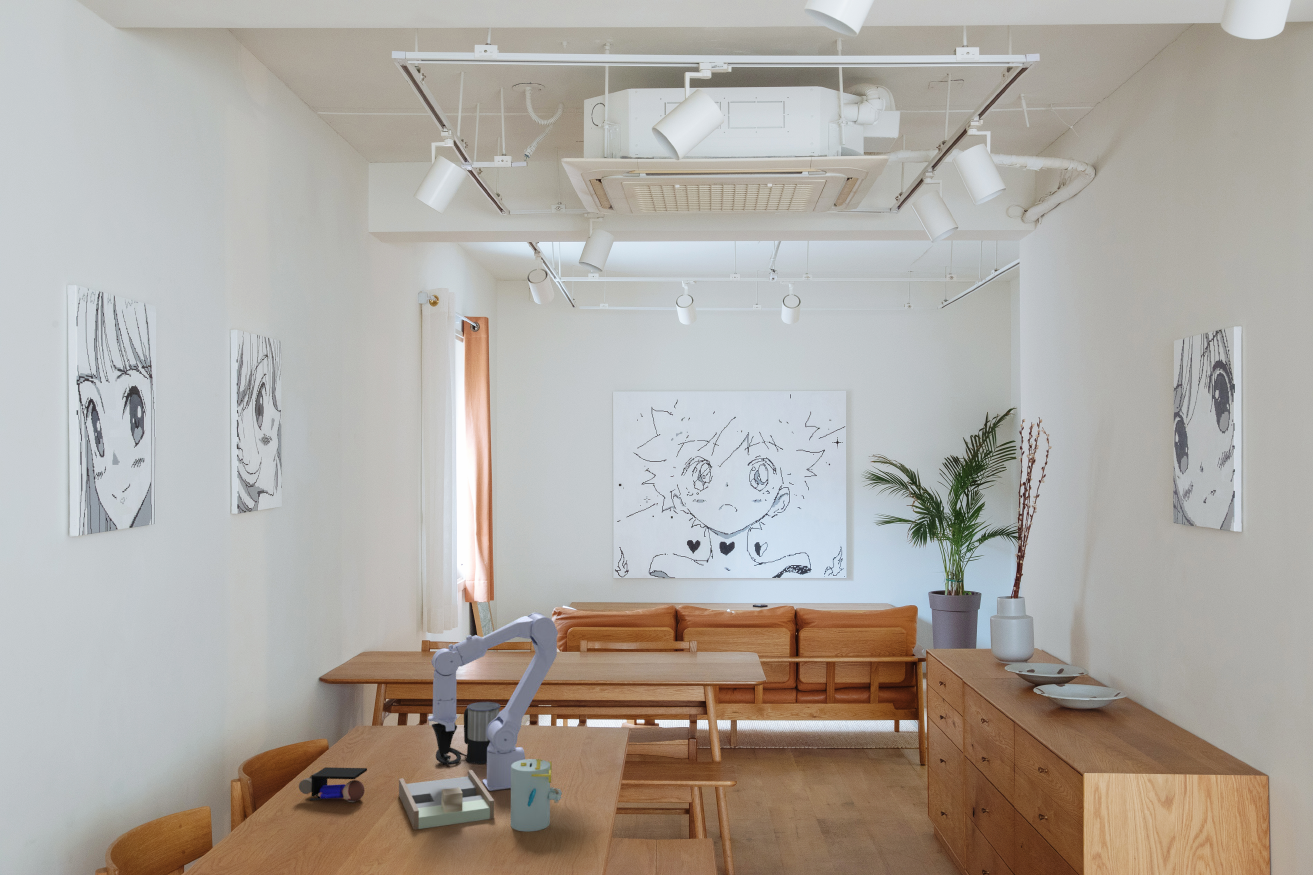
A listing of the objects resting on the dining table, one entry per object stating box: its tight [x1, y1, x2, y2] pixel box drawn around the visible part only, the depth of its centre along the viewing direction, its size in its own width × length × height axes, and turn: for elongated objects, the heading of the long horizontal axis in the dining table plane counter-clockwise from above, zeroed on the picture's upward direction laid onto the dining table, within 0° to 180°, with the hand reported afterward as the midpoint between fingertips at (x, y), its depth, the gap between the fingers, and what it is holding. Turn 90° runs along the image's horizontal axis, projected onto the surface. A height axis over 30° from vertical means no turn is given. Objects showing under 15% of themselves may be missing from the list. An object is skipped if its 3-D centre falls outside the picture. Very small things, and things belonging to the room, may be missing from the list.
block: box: [441, 787, 463, 813], centre depth 211 cm, size 4×4×4 cm
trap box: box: [398, 769, 495, 831], centre depth 219 cm, size 18×24×4 cm
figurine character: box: [298, 766, 368, 803], centre depth 224 cm, size 7×8×15 cm
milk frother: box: [435, 701, 501, 766], centre depth 255 cm, size 14×16×15 cm
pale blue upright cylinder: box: [510, 758, 563, 832], centre depth 209 cm, size 20×12×13 cm, turn 6°
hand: (444, 753), depth 230 cm, fingers closed
